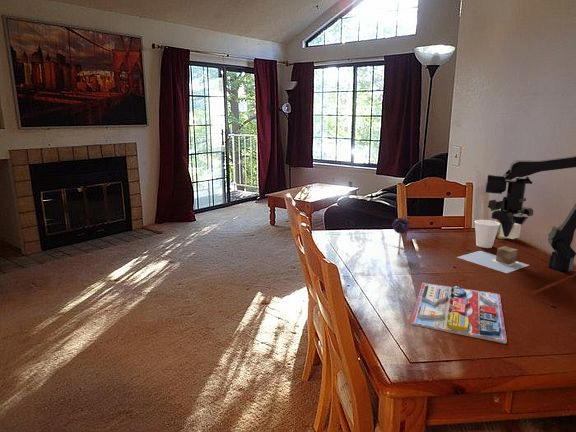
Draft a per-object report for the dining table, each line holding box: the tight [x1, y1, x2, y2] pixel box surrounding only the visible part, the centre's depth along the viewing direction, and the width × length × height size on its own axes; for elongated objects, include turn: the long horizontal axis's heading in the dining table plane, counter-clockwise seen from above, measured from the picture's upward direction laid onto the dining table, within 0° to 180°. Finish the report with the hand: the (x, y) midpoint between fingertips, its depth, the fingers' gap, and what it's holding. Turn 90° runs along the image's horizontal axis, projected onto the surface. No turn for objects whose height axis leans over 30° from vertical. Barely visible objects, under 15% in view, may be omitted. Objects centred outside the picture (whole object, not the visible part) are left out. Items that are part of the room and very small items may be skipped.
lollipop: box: [391, 217, 411, 255], centre depth 165 cm, size 7×7×15 cm
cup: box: [474, 219, 500, 249], centre depth 176 cm, size 10×10×11 cm
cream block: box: [499, 223, 522, 240], centre depth 155 cm, size 5×5×5 cm
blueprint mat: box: [456, 250, 530, 274], centre depth 158 cm, size 20×16×1 cm
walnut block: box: [495, 245, 518, 265], centre depth 157 cm, size 5×5×5 cm
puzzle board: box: [410, 282, 508, 345], centre depth 119 cm, size 30×23×3 cm
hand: (509, 235), depth 156 cm, fingers closed on cream block, 5 cm apart
